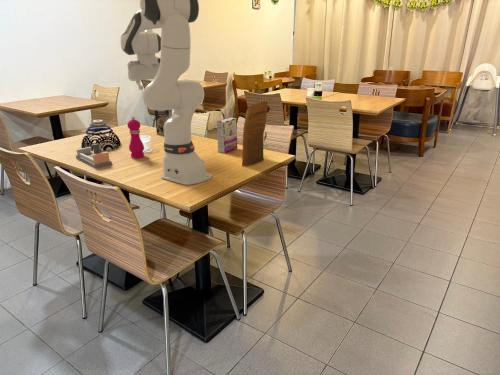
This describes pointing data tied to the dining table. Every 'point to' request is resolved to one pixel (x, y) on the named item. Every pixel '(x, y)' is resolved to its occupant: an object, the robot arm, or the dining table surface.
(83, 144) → the decorative bowl
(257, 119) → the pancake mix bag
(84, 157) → the rail board
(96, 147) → the keeper
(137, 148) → the pepper mill
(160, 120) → the coffee box
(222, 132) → the candy bar box
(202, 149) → the dining table surface
